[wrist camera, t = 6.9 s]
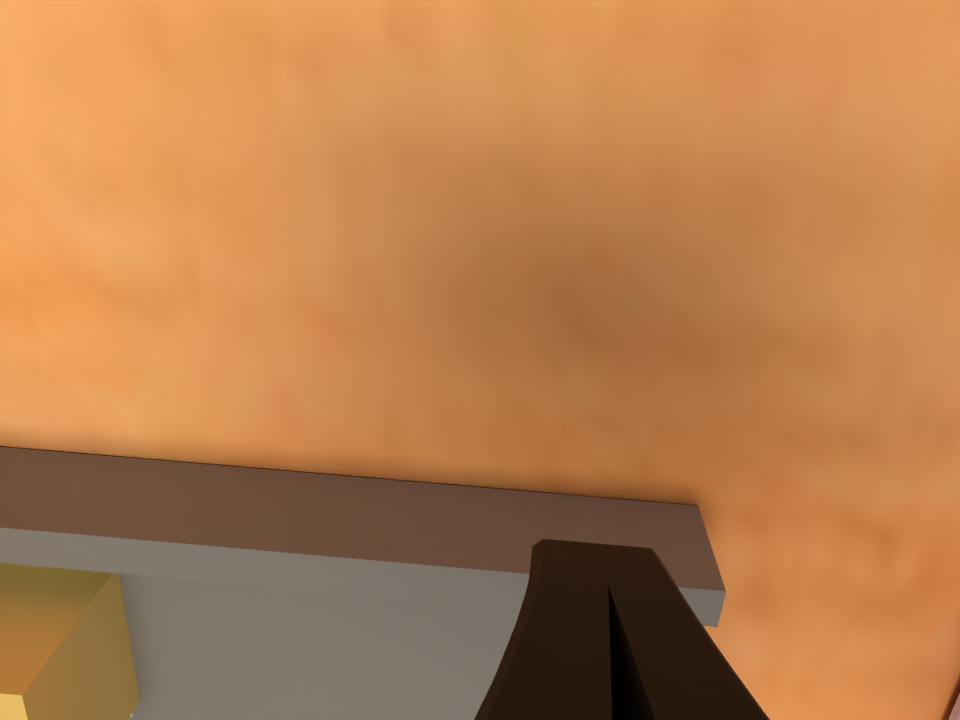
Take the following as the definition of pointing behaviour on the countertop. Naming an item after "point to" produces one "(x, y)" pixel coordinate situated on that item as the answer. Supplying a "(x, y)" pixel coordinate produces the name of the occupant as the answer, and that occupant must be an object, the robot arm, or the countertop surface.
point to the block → (64, 645)
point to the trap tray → (316, 578)
